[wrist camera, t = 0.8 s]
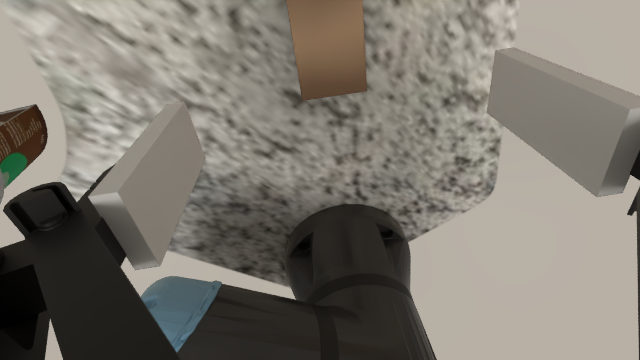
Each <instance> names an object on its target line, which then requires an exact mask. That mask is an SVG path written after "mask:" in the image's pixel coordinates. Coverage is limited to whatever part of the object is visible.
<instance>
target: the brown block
mask: <svg viewBox="0 0 640 360" xmlns="http://www.w3.org/2000/svg"><path fill="white" fill-rule="evenodd" d="M286 1H287V7H288V13H289V20H290V26H291V32H292V39H293V45H294V51H295V58H296V64H297V70H298V77H299V83H300V89H301V96H302V101H303V100H310V99H316V98H323V97H330V96H337V95H343V94H350V93H357V92H364V91H367V81H366V61H365V41H364V20H363V0H286Z"/></svg>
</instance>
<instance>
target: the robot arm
mask: <svg viewBox="0 0 640 360" xmlns="http://www.w3.org/2000/svg"><path fill="white" fill-rule="evenodd" d="M487 113H488V114H489V115H490V116H492V117H493V118H494V119H496V120H497V121H498V122H500V123H501V124H502V125H503V126H505V127H506V128H508V129H509V130H510V131H511V132H513V133H514V134H515V135H516V136H518V137H519V138H520V139H522V140H523V141H524V142H526V143H527V144H528V145H530V146H531V147H532V148H533V149H535V150H536V151H537V152H539V153H540V154H541V155H542V156H544V157H545V158H546V159H548V160H549V161H550V162H552V163H553V164H554V165H555V166H557V167H558V168H560V169H561V170H562V171H563V172H565V173H566V174H567V175H568V176H570V177H571V178H572V179H574V180H575V181H576V182H578V183H579V184H580V185H582V186H583V187H584V188H585V189H587V190H588V191H589V192H591V193H592V194H593V195H595V196H596V197H601V196H606V195H613V194H619V193H623V191H624V188H625V186H626V184H627V182H628V179H629V177H630V175H632V176H634V177H635V178H637V179H638V180H640V96H638V95H635V94H633V93H630V92H628V91H625V90H622V89H620V88H617V87H614V86H612V85H609V84H607V83H604V82H601V81H599V80H596V79H594V78H591V77H589V76H586V75H583V74H581V73H578V72H576V71H573V70H571V69H568V68H565V67H563V66H560V65H557V64H555V63H552V62H550V61H547V60H545V59H542V58H540V57H537V56H534V55H532V54H529V53H527V52H524V51H521V50H519V49H516V48H508V49H502V50H496V51H495V57H494V65H493V72H492V79H491V86H490V94H489V101H488V108H487ZM205 159H206V158H205V155H204V152H203V150H202V147H201V144H200V142H199V139H198V136H197V134H196V131H195V128H194V126H193V123H192V120H191V118H190V115H189V112H188V110H187V107H186V105H185V102H180V103H173V104H167V105H166V106H165V107H164V108H163V109H162V111H161V112H160V113H159V114H158V115H157V116H156V118H155V119H154V120H153V121H152V122H151V123H150V125H149V126H148V127H147V128H146V129H145V130H144V132H143V133H142V134H141V135H140V136H139V138H138V139H137V140H136V141H135V142H134V143H133V145H132V146H131V147H130V148H129V149H128V150H127V152H126V153H125V154H124V155H123V156H122V157H121V159H120V160H119V161H118V162H117V163H116V164H115V165H113V166H112V167H110V168H109V169H107V170H106V171H104V172H103V173H102V175H101V176H100V177H99V178H98V179H97V180H96V182H95V183H94V184H93V185H92V186H91V187H90V190H87V192H86V193H85V194H84V195H83V196H82V197H81V198H80V200H79V201H78V202H76V200H75V199H74V198H73V196H72V195H71V193H70V192H69V190H68V189H67V187H66V186H65V184H63V183H61V182H52V183H47V184H42V185H40V186H37V187H34V188H31V189H29V190H27V191H25V192H23V193H21V194H19V195H18V196H16V197H14V198H13V199H12V200H10V201H9V202H8V203H7V204H6V205H5V207H4V210H3V212H4V213H5V214H6V215H7V216H8V218H9V219H10V220H11V221H12V222H13V223H14V225H15V226H16V227H17V228H18V229H19V231H20V232H21V233H22V234H23V235H24V237H25V240H23V241H20V242H17V243H14V244H11V245H8V246H5V247H2V248H0V360H45V353H46V345H47V337H48V329H49V321H50V319H51V322H52V325H53V328H54V332H55V335H56V338H57V341H58V344H59V347H60V351H61V354H62V357H63V360H437V359H436V357H435V355H434V352H433V350H432V347H431V344H430V342H429V339H428V337H427V334H426V332H425V329H424V327H423V324H422V322H421V319H420V317H419V314H418V311H417V309H416V307H415V304H414V301H413V299H412V296H411V293H410V249H409V245H408V242H407V240H406V237H405V235H404V233H403V231H402V229H401V227H400V225H399V224H398V223H397V222H396V221H395V220H394V219H393V218H392V217H391V216H389V215H388V214H386V213H385V212H383V211H380V210H378V209H375V208H372V207H368V206H362V205H343V206H337V207H332V208H328V209H325V210H323V211H320V212H318V213H316V214H314V215H312V216H310V217H309V218H307V219H306V220H304V221H303V222H302V223H301V224H300V225H299V226H298V227H297V228H296V229H295V230H294V231H293V233H292V234H291V236H290V238H289V240H288V242H287V245H286V249H285V272H286V276H287V280H288V282H289V284H290V287H291V289H292V291H293V294H294V296H295V298H296V300H294V299H290V298H285V297H280V296H276V295H271V294H266V293H262V292H257V291H252V290H248V289H243V288H239V287H234V286H230V285H225V284H222V283H221V282H219V281H213V282H208V281H202V280H195V279H189V278H183V277H177V276H170V277H165V278H162V279H160V280H158V281H156V282H155V283H153V284H152V285H151V286H150V287H148V288H147V290H146V291H145V292H144V293H143V295H142V296H141V297H140V296H139V294H138V293H137V292H136V290H135V288H134V287H133V285H132V284H131V282H130V281H129V279H128V278H127V276H126V275H125V273H124V272H123V270H122V269H121V267H120V266H121V265H122V263H123V261H124V259H125V257H127V258H128V260H129V261H130V263H131V264H132V266H133V268H134V269H135V270H139V269H145V268H152V267H158V266H160V265H161V262H162V261H163V258H164V256H165V253H166V251H167V249H168V246H169V244H170V242H171V239H172V237H173V235H174V232H175V230H176V227H177V225H178V223H179V220H180V218H181V216H182V213H183V211H184V209H185V206H186V204H187V201H188V199H189V197H190V194H191V192H192V190H193V187H194V185H195V182H196V180H197V178H198V175H199V173H200V171H201V168H202V166H203V164H204V161H205ZM635 211H637V256H638V257H637V258H638V319H639V320H638V321H639V360H640V187H639V190H638V192H637V194H636V196H635V199H634V200H633V203H632V205H631V207H630V209H629V211H628V213H627V215H633V213H634V212H635Z"/></svg>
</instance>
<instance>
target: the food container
mask: <svg viewBox="0 0 640 360" xmlns="http://www.w3.org/2000/svg"><path fill="white" fill-rule="evenodd" d="M47 135H48V134H47V127H46V123H45V120H44V118H43V115H42V113H41V111H40V110H39V108H38V107H37V105H36V104H35V105H30V106H26V107H22V108H17V109H13V110H9V111H5V112H0V203H1V201H2V198H3V193H4V189H5V188H6V187H7V186H8V185H9V184H10V183H11V182H12V181H13V180H14V179H15V178H16V177H17V176H18V175H19V174H20V173H21V172H22V171H24V170H25V169H26V168H27V167H28V166H29V165H30V164H31V163H32V162H33V161H34V160H35V159H36V158H37V157H38V156H39V155H40V154H41V153H42V152H43V150H44V149H45V146H46V143H47V137H48V136H47Z"/></svg>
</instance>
